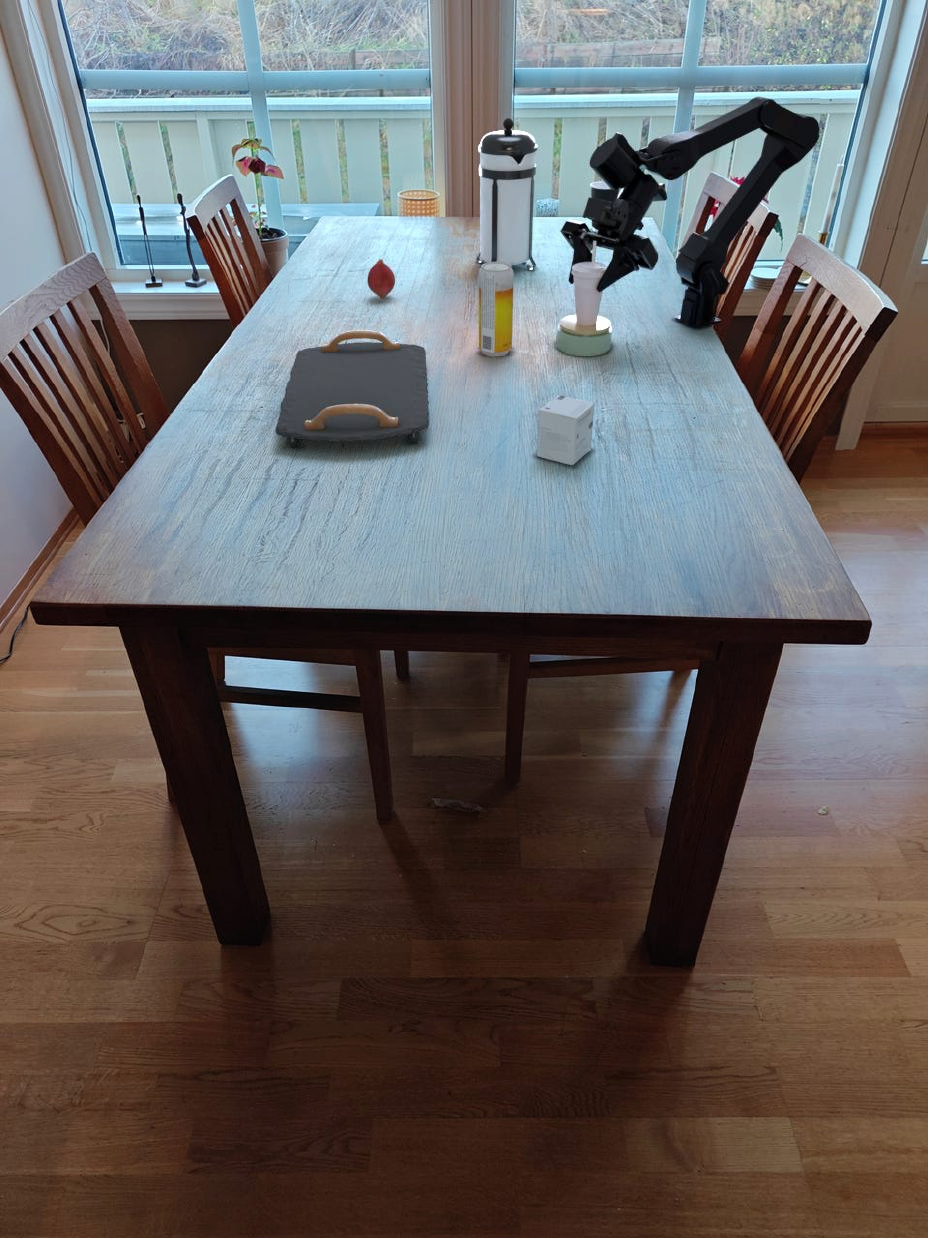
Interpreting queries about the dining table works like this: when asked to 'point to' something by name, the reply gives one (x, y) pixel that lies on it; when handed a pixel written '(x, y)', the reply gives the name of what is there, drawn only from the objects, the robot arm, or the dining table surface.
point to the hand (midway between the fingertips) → (583, 286)
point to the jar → (584, 337)
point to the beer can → (495, 308)
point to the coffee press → (507, 196)
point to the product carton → (565, 429)
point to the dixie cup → (602, 193)
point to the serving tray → (356, 391)
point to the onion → (381, 279)
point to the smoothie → (587, 289)
